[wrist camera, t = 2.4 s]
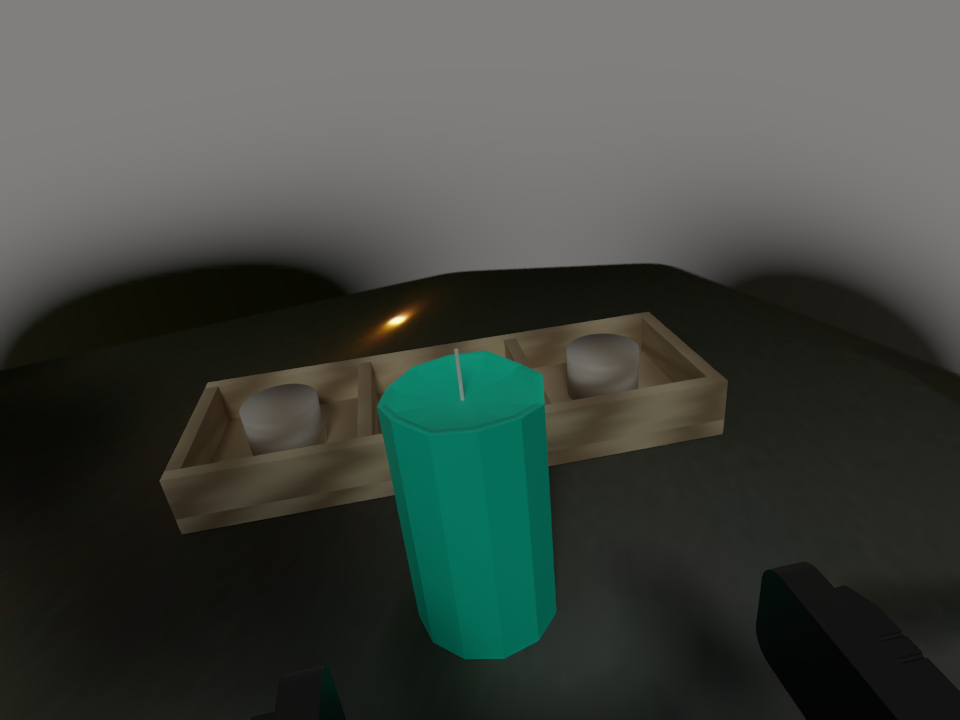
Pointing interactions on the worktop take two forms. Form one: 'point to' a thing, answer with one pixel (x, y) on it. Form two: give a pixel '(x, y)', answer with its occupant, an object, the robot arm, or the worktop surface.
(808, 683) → the robot arm
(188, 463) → the tray
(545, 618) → the candle
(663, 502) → the worktop surface
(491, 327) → the worktop surface
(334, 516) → the worktop surface
